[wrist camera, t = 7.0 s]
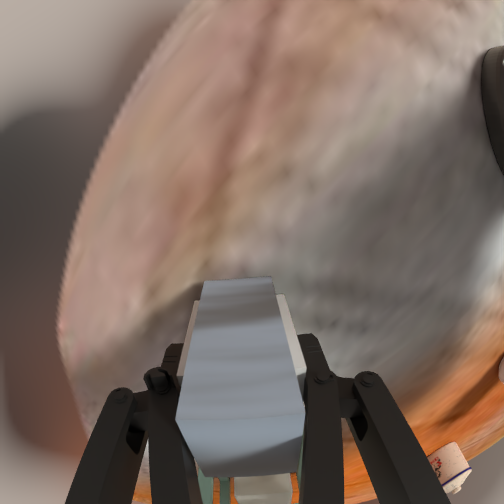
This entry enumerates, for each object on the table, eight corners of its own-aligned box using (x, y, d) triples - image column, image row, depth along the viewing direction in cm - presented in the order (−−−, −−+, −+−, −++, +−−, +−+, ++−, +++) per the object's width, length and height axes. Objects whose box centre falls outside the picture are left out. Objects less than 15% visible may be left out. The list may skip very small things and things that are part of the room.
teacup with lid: (429, 452, 33) (449, 494, 22) (462, 434, 33) (484, 472, 22) (409, 475, 37) (424, 512, 26) (441, 460, 37) (457, 493, 26)
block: (233, 453, 25) (234, 495, 20) (286, 448, 25) (292, 491, 20) (239, 471, 27) (240, 508, 22) (285, 467, 28) (290, 504, 22)
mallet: (204, 280, 17) (175, 419, 7) (270, 276, 17) (305, 412, 7) (239, 459, 24) (242, 533, 15) (274, 456, 25) (284, 530, 15)
